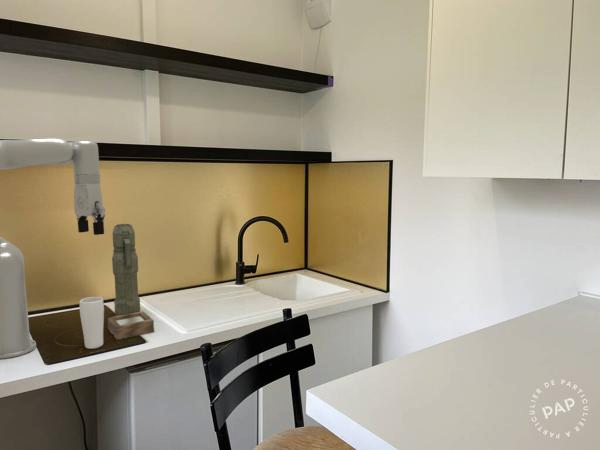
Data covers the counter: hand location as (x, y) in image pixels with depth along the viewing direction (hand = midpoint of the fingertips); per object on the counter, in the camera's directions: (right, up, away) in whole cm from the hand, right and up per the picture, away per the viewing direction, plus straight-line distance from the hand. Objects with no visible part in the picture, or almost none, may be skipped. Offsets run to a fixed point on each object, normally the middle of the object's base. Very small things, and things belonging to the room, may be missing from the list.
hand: (91, 233), depth 143 cm
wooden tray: (+10, -34, +8) cm, 36 cm away
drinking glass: (+3, -36, -5) cm, 36 cm away
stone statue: (+3, -32, +22) cm, 39 cm away
